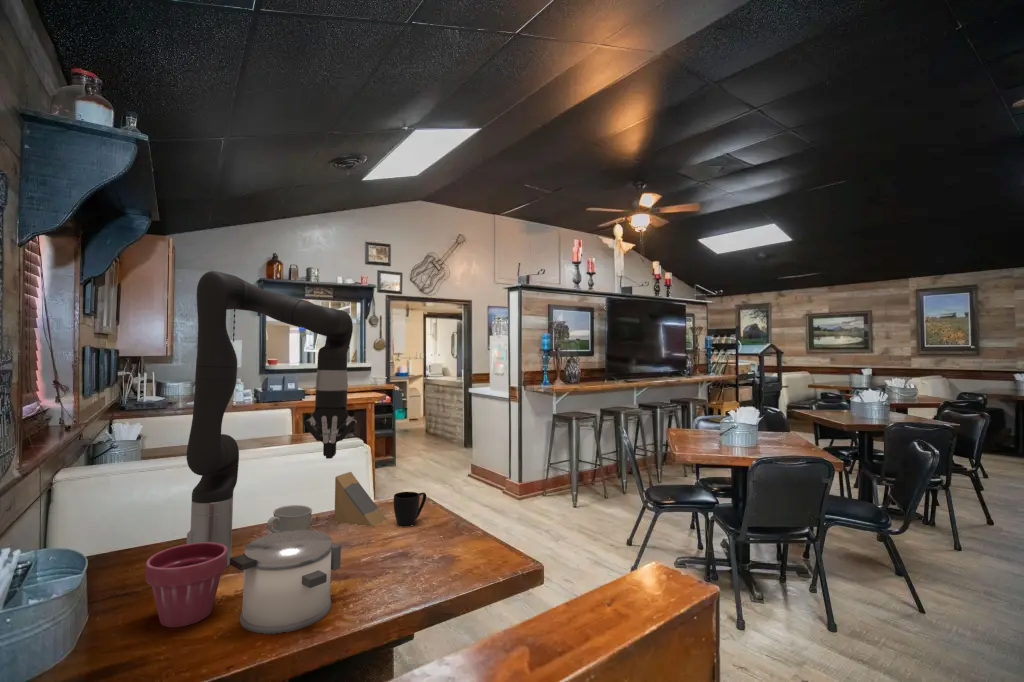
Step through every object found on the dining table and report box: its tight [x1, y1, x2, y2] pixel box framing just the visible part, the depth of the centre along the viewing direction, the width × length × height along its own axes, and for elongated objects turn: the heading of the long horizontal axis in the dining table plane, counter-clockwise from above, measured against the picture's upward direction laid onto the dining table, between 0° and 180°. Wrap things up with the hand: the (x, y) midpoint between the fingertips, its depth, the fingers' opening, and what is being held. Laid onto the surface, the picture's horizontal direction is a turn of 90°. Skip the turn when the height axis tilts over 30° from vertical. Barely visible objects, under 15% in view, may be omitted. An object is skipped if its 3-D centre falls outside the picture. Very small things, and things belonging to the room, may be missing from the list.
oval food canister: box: [239, 541, 342, 635], centre depth 109 cm, size 19×23×12 cm
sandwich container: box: [333, 471, 387, 527], centre depth 168 cm, size 9×15×15 cm, turn 72°
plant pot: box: [145, 542, 228, 628], centre depth 105 cm, size 14×14×13 cm
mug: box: [393, 491, 427, 527], centre depth 166 cm, size 8×12×10 cm
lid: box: [229, 529, 333, 572], centre depth 107 cm, size 20×17×2 cm
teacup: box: [266, 504, 313, 534], centre depth 151 cm, size 14×11×8 cm
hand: (329, 457), depth 126 cm, fingers closed
